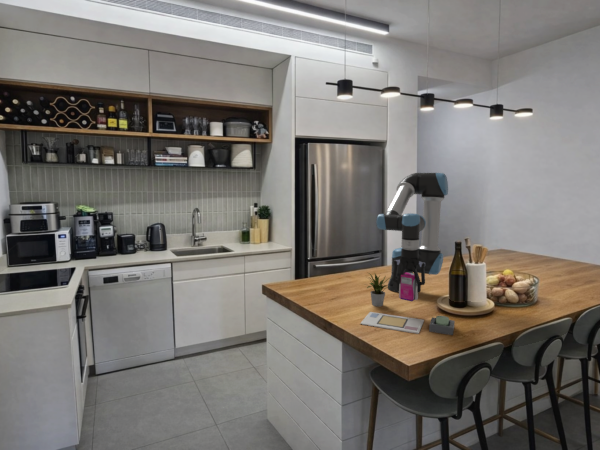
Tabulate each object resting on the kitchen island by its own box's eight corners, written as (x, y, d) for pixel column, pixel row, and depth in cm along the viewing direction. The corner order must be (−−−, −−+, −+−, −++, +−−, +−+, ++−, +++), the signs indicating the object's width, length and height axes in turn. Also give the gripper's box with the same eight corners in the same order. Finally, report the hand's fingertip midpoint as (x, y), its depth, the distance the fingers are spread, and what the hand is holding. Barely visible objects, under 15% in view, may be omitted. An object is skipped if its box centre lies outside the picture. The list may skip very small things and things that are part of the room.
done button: (436, 324, 168) (436, 315, 167) (448, 326, 166) (449, 316, 165) (434, 328, 163) (435, 318, 163) (447, 330, 161) (448, 320, 161)
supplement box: (404, 295, 186) (406, 271, 184) (416, 298, 183) (418, 274, 181) (399, 298, 182) (400, 274, 180) (411, 301, 178) (413, 276, 176)
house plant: (354, 303, 197) (355, 271, 195) (372, 298, 206) (373, 267, 204) (377, 311, 187) (378, 277, 185) (395, 305, 195) (396, 272, 193)
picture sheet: (369, 312, 184) (370, 311, 184) (424, 320, 174) (424, 319, 174) (360, 324, 170) (360, 322, 170) (418, 333, 160) (418, 332, 160)
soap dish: (431, 324, 171) (432, 317, 170) (454, 327, 167) (454, 320, 167) (429, 331, 163) (429, 324, 162) (452, 335, 159) (453, 328, 159)
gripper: (386, 248, 179) (385, 297, 182) (431, 251, 171) (429, 303, 174) (389, 245, 186) (388, 292, 189) (433, 248, 178) (431, 298, 181)
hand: (408, 297), depth 182 cm, fingers closed on supplement box, 6 cm apart
